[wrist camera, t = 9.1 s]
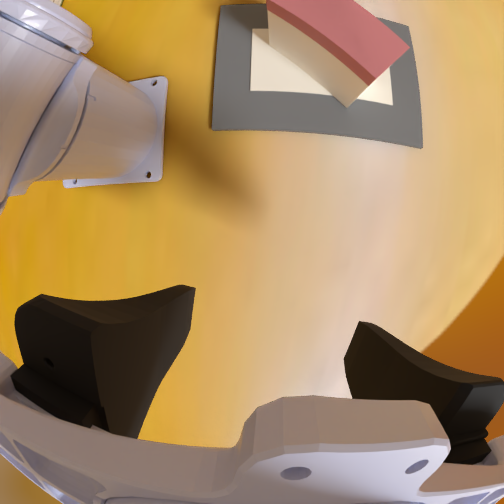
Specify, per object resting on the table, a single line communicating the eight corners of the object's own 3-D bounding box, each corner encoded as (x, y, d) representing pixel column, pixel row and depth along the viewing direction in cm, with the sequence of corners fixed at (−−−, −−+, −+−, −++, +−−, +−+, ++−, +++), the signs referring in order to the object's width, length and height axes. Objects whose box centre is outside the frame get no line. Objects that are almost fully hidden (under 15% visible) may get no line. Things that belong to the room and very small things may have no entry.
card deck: (346, 108, 16) (376, 78, 10) (268, 45, 15) (265, -2, 10) (375, 80, 15) (410, 47, 10) (300, 21, 15) (307, -28, 9)
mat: (212, 130, 18) (211, 129, 17) (221, 8, 15) (220, 4, 15) (420, 148, 17) (423, 148, 16) (406, 28, 14) (408, 25, 14)
